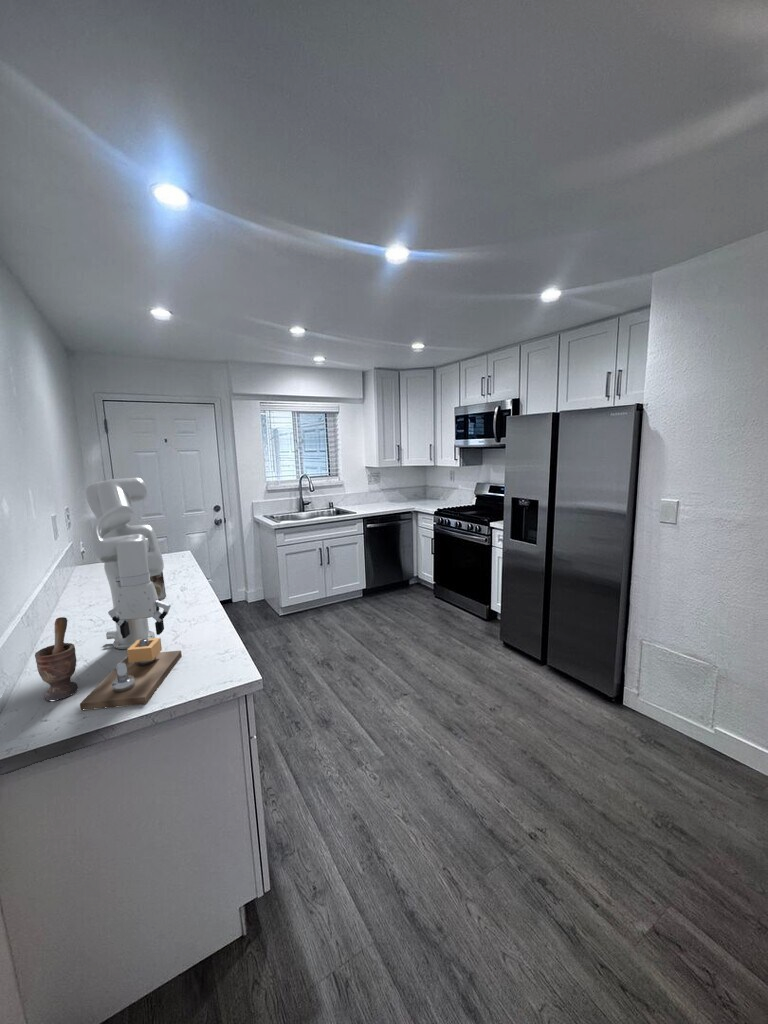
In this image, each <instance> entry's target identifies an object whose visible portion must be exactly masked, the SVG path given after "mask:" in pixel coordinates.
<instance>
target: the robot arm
mask: <svg viewBox="0 0 768 1024" xmlns="http://www.w3.org/2000/svg"><path fill="white" fill-rule="evenodd" d="M148 491H149V490H148V486H147V484H146V482H145V481H144V480H143V479H142V478H140V477H126V478H124V477H123V478H111V479H106V480H102V481H97V482H93V483H90V484H89V485H87V487H86V488H85V498H86V501H87V503H88V506H89V509H90V510H91V513H93V514H94V516H95V518H96V519H97V520H96V522H95V524H94V525H93V527H92V529H91V534H90V535H91V537H90V539H91V543H92V549H93V554H94V556H95V559H96V561H98V562H99V563H101V564H104V565H103V567H104V573H105V576H106V579H107V581H108V585H109V589H110V593H111V600H112V607H113V608H112V609H111V610H108V612H107V613H108V615H109V616H110V618H111V620H112V621H113V622H114V623H115V628H116V630H115V631H114V630H111V631H106V633H105V637H106V640H114V641H113V647H114V648H115V649H118V650H127V649H128V648H129V647H130V646H131V645H132V644H134V643H135V642H136V641H137V640H140V639H151V638H156V637H155V635H156V636H160V635H161V634H162V633H163V632H164V630H165V625H164V618H165V617H166V616H167V615H168V614H169V611H170V609H171V604H169V603H166V602H163V601H161V600H158V596H157V592H156V589H155V586H154V584H153V582H152V581H150V577H151V576H155V575H158V574H160V573H161V572H162V571H164V568H165V566H164V560H163V555H162V552H161V548H160V545H159V541H158V537H157V534H156V532H155V529H154V527H153V526H151V525H150V524H147V523H146V524H134V525H129V522H131V521H132V519H133V518H134V516H135V512H134V511H135V510H134V508H133V505H132V503H136V502H145V501H146V500H147V499H148V496H149V492H148ZM160 608H161V609H163V611H162V612H161V611H160ZM149 618H152V619H153V620H155V621H156V622H155V623H154V626H155V631H156V632H154V631H152V630H150V627H149Z"/></svg>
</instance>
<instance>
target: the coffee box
mask: <svg viewBox="0 0 768 1024" xmlns="http://www.w3.org/2000/svg"><path fill="white" fill-rule="evenodd" d="M163 571H164V570H163ZM163 571H162V572H161V573H160V574H158V575H155V576H151V577H150V581H152V582H153V584H154V586H155V589H156V592H157V596H158V601H160V600H162V598H163V599H165V597H166V598H167V593H166V586H165V578H164V572H163ZM159 599H160V600H159Z"/></svg>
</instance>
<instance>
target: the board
mask: <svg viewBox="0 0 768 1024" xmlns="http://www.w3.org/2000/svg"><path fill="white" fill-rule="evenodd" d="M182 657H183V656H182V650H172V651H170V650H169V651H160V653H159V654H158V655H157V656H156V661H155V662H154V663H152V664H150V665H147V666H137V662H129V661H128V655H127V656H126V657H125V658H124V659H123V660H122V661H121V662H124V663H125V664H126V667H127V674H128V676H134V680H135V686H134V687H133V688H132V689H130V690H128V691H125V692H121V693H115V692H113V688H112V682H113V681H114V680H116V679H117V672H116V667H115V668H114V669H113V670H112V671H111V672H110V673H109V674H108V675H107V676H106V677H105V678H104V679H103V680H102V681H101V682H99V684H98V685H97V686H95V688H94V689H93V690H92V691H91V692H90V693H89V694H88V695H87V696H86V697H85V698H84V699H83V700H82V701H81V702H80V703H79V707H80V711H81V710H82V711H84V710H83V709H92V710H95V709H94V708H102V709H106V708H105V707H112V708H118V707H117V706H122V707H128V706H129V707H130V705H132V706H140V704H141V705H147V704H148V703H149V701H150V700H151V698H152V697H153V696H154V695H155V693H156V692H157V690H158V689H159V688H160V687H161V686H162V684H163V682H164V681H165V679H167V677H168V676H169V674H170V673H171V671H172V670H173V669H174V667H175V666H176V665H177V664H178V662H179V661H180V660H181V658H182ZM157 688H158V689H157ZM155 691H156V692H155ZM154 692H155V693H154ZM152 695H153V696H152ZM151 696H152V697H151ZM149 699H150V700H149ZM127 705H128V706H127Z"/></svg>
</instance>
